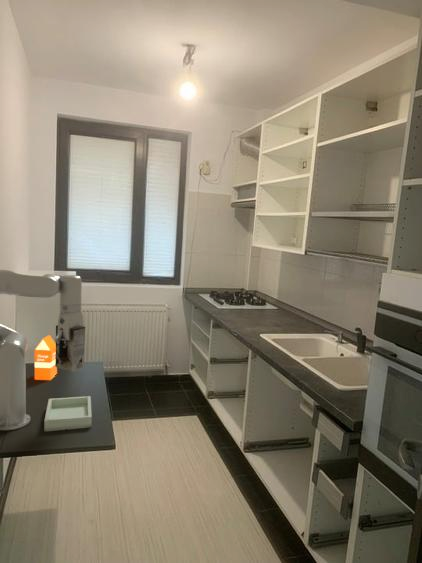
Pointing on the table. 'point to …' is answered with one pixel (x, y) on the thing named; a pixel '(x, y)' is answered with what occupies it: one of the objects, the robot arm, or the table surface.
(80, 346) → the coffee box
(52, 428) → the tray
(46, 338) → the orange juice
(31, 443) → the table surface
